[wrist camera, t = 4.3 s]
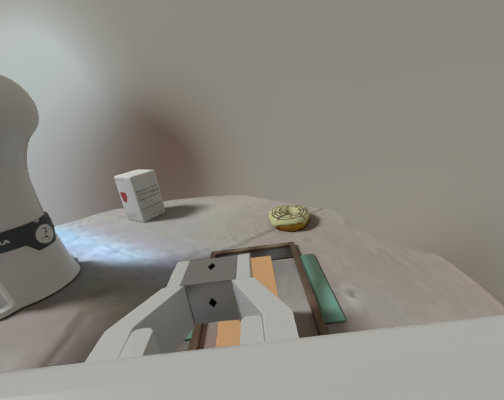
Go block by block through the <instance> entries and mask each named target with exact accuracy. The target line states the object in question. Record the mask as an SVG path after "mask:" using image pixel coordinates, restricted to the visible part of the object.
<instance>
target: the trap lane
mask: <svg viewBox="0 0 504 400" xmlns="http://www.w3.org/2000/svg"><path fill="white" fill-rule="evenodd" d="M246 253H250V256H251V258H255V257H263V256H271V260H277V259H285V258H294V261H295V264H296V267H297V269H298V272H299V275H300V278H301V281H302V284H303V287H304V290H305V293H306V296H307V299H308V302H309V305H310V308H311V311H312V314H313V317H314V320H315V323H316V326H317V329H318V332H319V335H329V333H328V330H327V328H326V325H325V324H329V323H337V322H346V320H345V318H344V316H343V314H342V312H341V309H340V307H339V305H338V303H337V301H336V299H335V297H334V295H333V293H332V291H331V289H330V287H329V285H328V283H327V281H326V279H325V277H324V275H323V273H322V271H321V269H320V266H319V264H318V262H317V260H316V258H315V256H314V254H307V255H299V254H298V252H297V249H296V246H295V244H294V242H288V243H280V244H272V245H264V246H256V247H248V248H240V249H231V250H223V251H215V252H212V253H211V257H210V258H220V257H227V256H233V255H240V254H246ZM202 327H203V324H197V325H195V327H194V328H193V329H192V331H191V332H190V333H189V335H188V336H187V337H186V339H185V340H191V341H190V345H189V349H188V351H190V350H198V347H199V342H200V337H201V332H202Z"/></svg>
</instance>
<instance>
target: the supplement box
mask: <svg viewBox="0 0 504 400" xmlns="http://www.w3.org/2000/svg"><path fill="white" fill-rule="evenodd" d="M114 179H115V182H116V185H117V188H118V191H119V193H120V197H121V200H122V202H123V205H124V209H125V212H126V215H127V218H128V219H129V220H134V221H138V222H143V223H145V222H147V221H149V220H151V219H153V218H154V217H156V216H158V215H160V214H162V213H164V212H165V208H164V204H163V201H162V197H161V193H160V189H159V186H158V182H157V178H156V175H155V171H154V170H138V169H137V170H134V171H131V172H128V173H124V174H120V175H117V176H114Z"/></svg>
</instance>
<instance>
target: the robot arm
mask: <svg viewBox="0 0 504 400" xmlns="http://www.w3.org/2000/svg"><path fill="white" fill-rule="evenodd" d="M38 122H39V116H38V111H37V108H36V105H35V103H34V101H33V100H32V98H31V97H30V96H29V94H28V93H27V92H26V91H25V90H24V89H23V88H22V87H21V86H20V85H18V84H17V83H15V82H14V81H12V80H11V79H9V78H7V77H5V76H2V75H0V319H2V318H4V317H6V316H8V315H10V314H11V313H13V312H15V311H17V310H19V309H20V308H22V307H25V306H27V305H29V304H32V303H34V302H37V301H39V300H41V299H43V298H45V297H47V296H49V295H51V294H53V293H54V292H56V291H58V290H59V289H61V288H62V287H64V286H65V285H67V284H68V283H69V282H70V281H71V280H73V279H74V278H75V277H76V275H77V274H78V273H79V271H80V265H79V264H78V263H77V262H76V261H75V258H74V257H73V255H72V254H70V253H69V252H68V250H67V249H66V247H65V246H64V244H63V243H62V241H61V240H60V238H59V237H58V235H57V234H56V233H55V230H54V225H53V223H52V221H51V218H50V217H49V215H48V213H47V212H44V211H43V208H42V206H41V204H40V202H39V200H38V198H37V195H36V193H35V190H34V188H33V186H32V183H31V181H30V178H29V174H28V168H27V147H28V142H29V140H30V137H31V136H32V134H33V133H34V131H35V130H36V128H37V126H38ZM230 320H239V321H240V322H241V331H240V345H233V346H225V347H216V348H207V349H199V350H190V351H181V352H175V351H176V350H177V349H178V348H179V346H180V345H181V344H182V342H183V341H184V340H185V339H186V337H187V336H188V335H189V333H190V332H191V331H192V329H193V328H194V327H195V325H197V324H204V323H211V322H218V321H230ZM0 400H504V314H502V315H494V316H485V317H476V318H468V319H459V320H450V321H442V322H433V323H424V324H416V325H407V326H398V327H390V328H381V329H372V330H364V331H355V332H346V333H338V334H329V335H320V336H312V337H303V338H299V336H298V331H297V327H296V323H295V319H294V315H293V311H292V309H290V308H289V307H288V306H287V305H286V304H285V303H283V302H282V301H281V300H280V299H279V298H278V297H277V296H275V295H274V294H273V293H272V292H271V291H270V290H268V289H267V288H266V287H265V286H264V285H263V284H261V283H260V282H259V281H258V280H257V279H256V278H255V277H254V276H253V269H252V262H251V256H250V253H246V254H240V255H233V256H227V257H220V258H209V259H199V260H188V261H181V262H178V263H177V265H176V267H175V269H174V271H173V273H172V275H171V278H170V280H169V282H168V284H167V286H166V288H162V289H161V290H159V291H158V292H157V293H155V294H154V295H153V296H151V297H150V298H149V299H147V300H146V301H145V302H143V303H142V304H141V305H139V306H138V307H137V308H135V309H134V310H133V311H131V312H130V313H129V314H127V315H126V316H125V317H123V318H122V319H121V320H119V321H118V322H117V323H115V324H114V325H113V326H111V327H110V328H109V329H107V330H106V331H105V332H104V333H103V335H102V336H101V338H100V339H99V341H98V342H97V344H96V345H95V347H94V349H93V350H92V352H91V353H90V355H89V356H88V358H87V359H86V361H85V362H84V363H76V364H68V365H59V366H51V367H42V368H33V369H24V370H15V371H6V372H0Z"/></svg>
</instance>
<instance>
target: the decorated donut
mask: <svg viewBox="0 0 504 400" xmlns="http://www.w3.org/2000/svg"><path fill="white" fill-rule="evenodd" d="M309 218H310V213H309V211H308V209H306V208H305V207H303V206H300V205H283V206H278V207H275V208H274V209H272V210H271V211H270V212H269V220H270V222H271V224H272V225H273V226H274V227H276V228H278V229H280V230H283V231H297V230H299V229H302V228H304V227H305V226H306V224H307V223H308V221H309Z"/></svg>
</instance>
